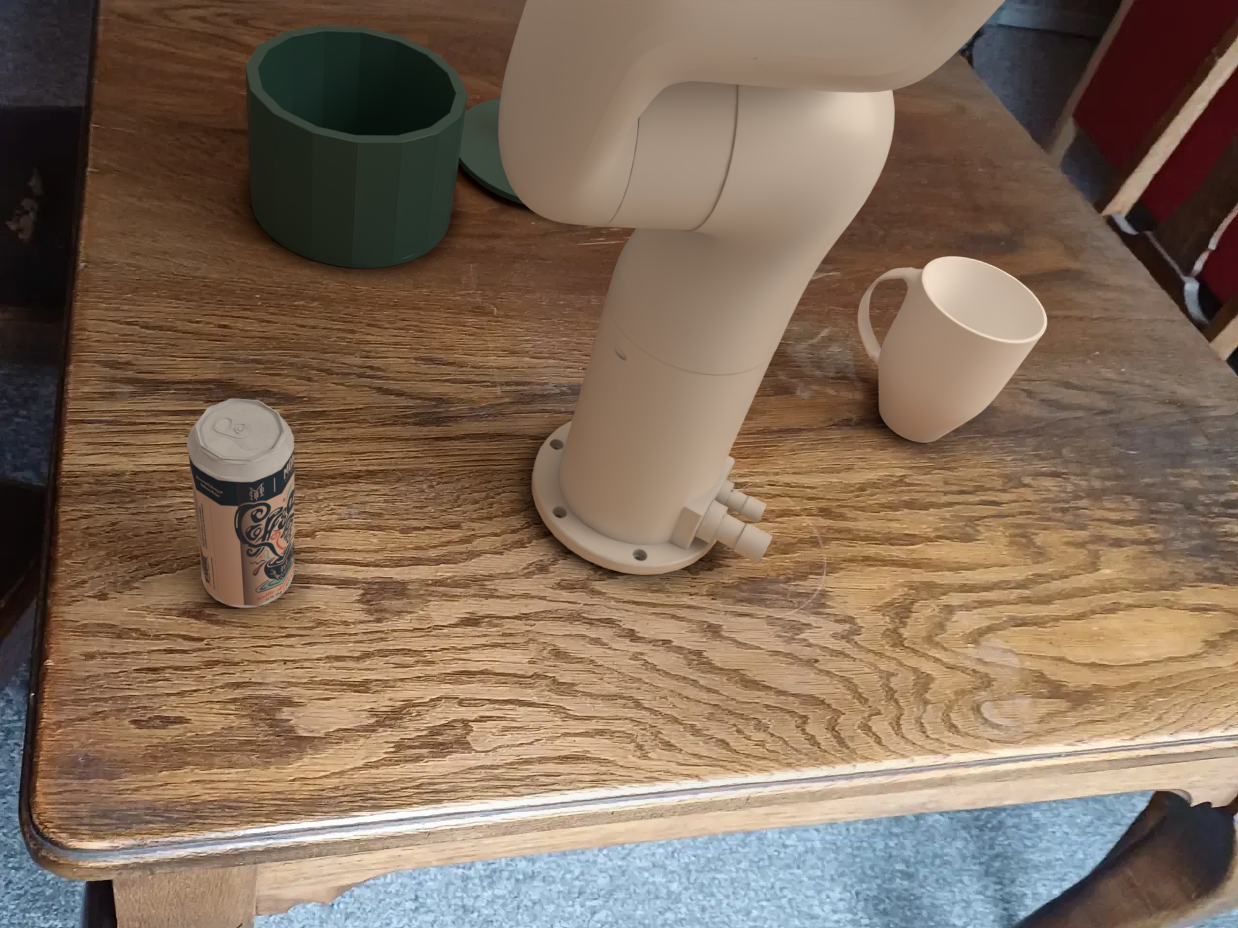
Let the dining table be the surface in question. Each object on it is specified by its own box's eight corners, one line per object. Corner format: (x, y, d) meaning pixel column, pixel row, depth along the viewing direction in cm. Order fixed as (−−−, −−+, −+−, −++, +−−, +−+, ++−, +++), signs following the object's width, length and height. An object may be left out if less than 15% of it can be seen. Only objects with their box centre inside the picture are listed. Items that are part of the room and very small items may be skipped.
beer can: (272, 623, 57) (268, 480, 49) (185, 598, 57) (166, 449, 48) (307, 555, 61) (310, 408, 52) (225, 530, 60) (214, 380, 52)
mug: (986, 428, 81) (1069, 308, 72) (931, 483, 76) (1013, 361, 67) (861, 340, 85) (926, 215, 76) (800, 387, 79) (862, 259, 71)
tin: (484, 203, 86) (503, 84, 78) (379, 296, 76) (388, 170, 68) (330, 128, 88) (334, 4, 80) (208, 208, 78) (198, 76, 70)
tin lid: (661, 160, 95) (680, 92, 91) (582, 243, 85) (599, 171, 80) (509, 88, 98) (520, 18, 93) (414, 160, 87) (421, 86, 82)
